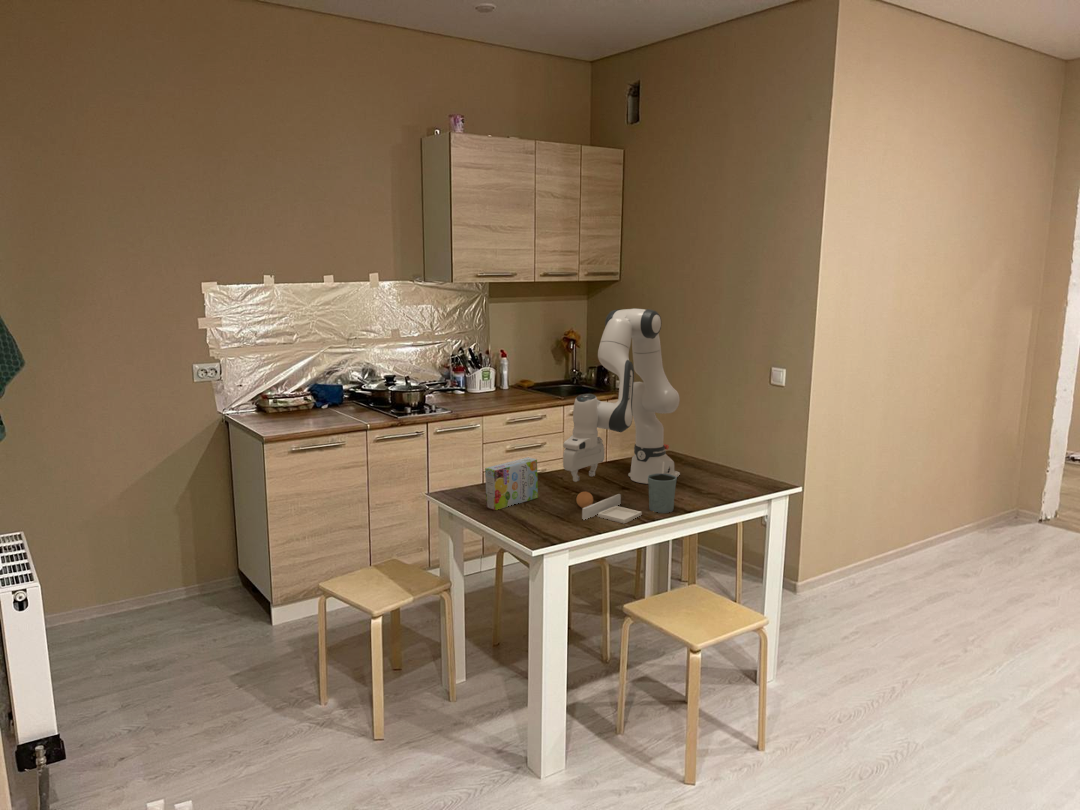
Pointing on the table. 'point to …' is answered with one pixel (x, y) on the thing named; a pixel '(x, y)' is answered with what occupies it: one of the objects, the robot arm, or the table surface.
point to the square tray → (619, 514)
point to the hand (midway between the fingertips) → (584, 478)
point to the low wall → (601, 506)
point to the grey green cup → (661, 492)
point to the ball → (584, 499)
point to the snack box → (511, 483)
